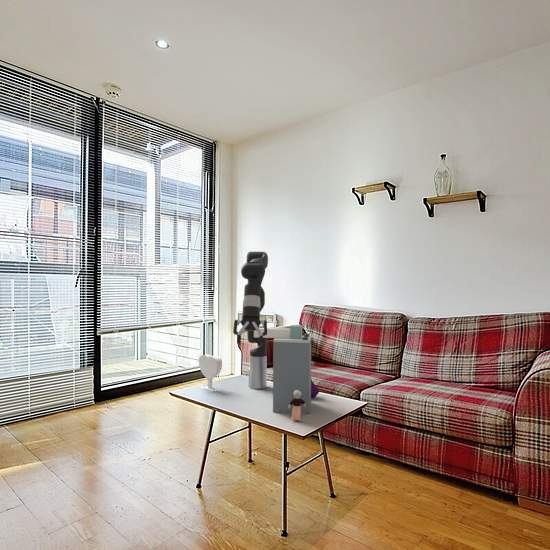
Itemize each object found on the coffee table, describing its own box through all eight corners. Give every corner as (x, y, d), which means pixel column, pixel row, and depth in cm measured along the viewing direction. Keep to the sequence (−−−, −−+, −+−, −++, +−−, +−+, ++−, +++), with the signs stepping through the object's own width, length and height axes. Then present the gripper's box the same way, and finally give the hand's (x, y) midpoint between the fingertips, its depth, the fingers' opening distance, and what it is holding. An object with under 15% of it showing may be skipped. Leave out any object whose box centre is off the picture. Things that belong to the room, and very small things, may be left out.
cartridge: (253, 337, 188) (253, 325, 188) (255, 335, 193) (255, 324, 193) (301, 338, 185) (301, 326, 185) (302, 337, 190) (302, 325, 190)
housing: (272, 411, 180) (273, 337, 181) (277, 401, 196) (278, 332, 197) (309, 413, 178) (309, 337, 179) (310, 403, 194) (311, 333, 195)
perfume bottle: (299, 397, 204) (299, 361, 204) (308, 394, 209) (308, 359, 209) (311, 400, 199) (311, 363, 199) (320, 397, 204) (320, 361, 204)
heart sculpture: (222, 390, 215) (223, 356, 215) (215, 392, 211) (215, 357, 212) (204, 385, 226) (204, 352, 226) (197, 387, 222) (197, 354, 222)
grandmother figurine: (291, 423, 166) (291, 392, 166) (287, 420, 170) (287, 389, 170) (307, 420, 169) (307, 390, 170) (303, 417, 173) (303, 388, 173)
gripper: (267, 310, 179) (266, 347, 174) (235, 308, 179) (233, 345, 173) (268, 305, 172) (266, 344, 167) (234, 304, 172) (232, 343, 166)
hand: (249, 345), depth 170 cm, fingers open, 8 cm apart
